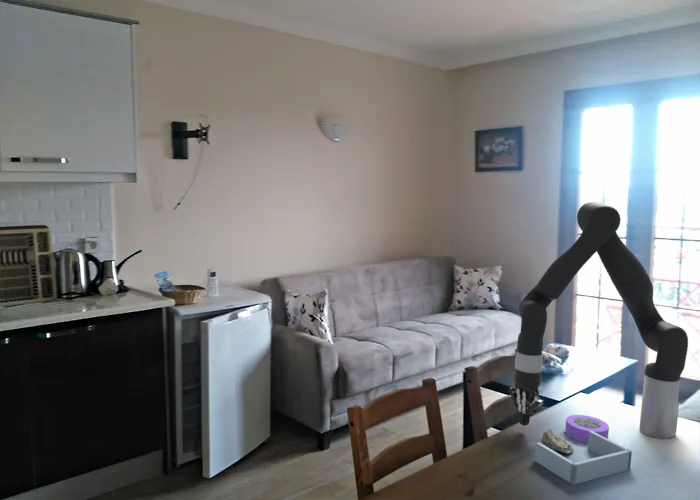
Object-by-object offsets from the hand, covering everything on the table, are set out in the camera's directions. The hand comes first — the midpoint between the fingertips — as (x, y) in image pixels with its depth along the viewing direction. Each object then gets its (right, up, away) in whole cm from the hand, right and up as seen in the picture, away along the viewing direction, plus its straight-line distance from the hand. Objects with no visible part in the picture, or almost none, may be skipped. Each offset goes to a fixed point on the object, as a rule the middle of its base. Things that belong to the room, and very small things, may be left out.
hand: (523, 424), depth 172 cm
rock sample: (+6, -4, -10) cm, 12 cm away
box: (+10, -5, -19) cm, 22 cm away
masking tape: (+18, -3, 0) cm, 18 cm away
